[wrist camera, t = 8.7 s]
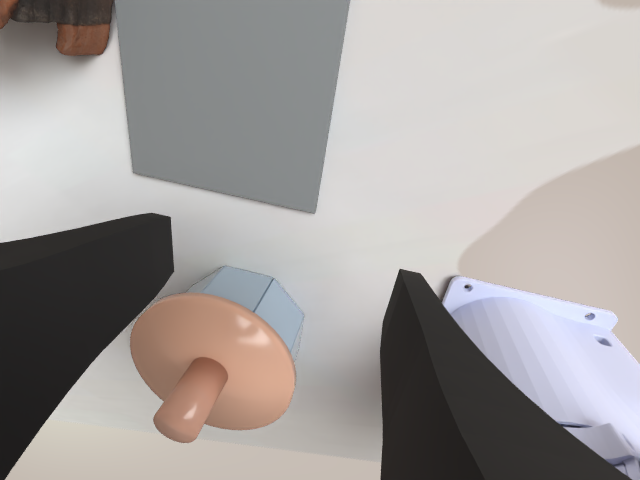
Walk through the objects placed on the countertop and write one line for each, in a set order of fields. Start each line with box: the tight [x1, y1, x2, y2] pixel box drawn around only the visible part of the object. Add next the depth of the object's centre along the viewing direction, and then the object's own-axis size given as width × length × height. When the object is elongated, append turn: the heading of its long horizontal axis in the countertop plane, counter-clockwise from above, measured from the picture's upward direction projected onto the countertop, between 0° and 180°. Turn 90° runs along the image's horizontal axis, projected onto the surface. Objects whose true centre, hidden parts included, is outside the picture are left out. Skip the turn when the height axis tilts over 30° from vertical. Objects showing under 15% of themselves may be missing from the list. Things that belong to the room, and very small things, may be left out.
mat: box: [115, 0, 350, 213], centre depth 18 cm, size 12×12×1 cm
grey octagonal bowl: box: [186, 266, 304, 362], centre depth 23 cm, size 9×9×5 cm
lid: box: [130, 292, 296, 443], centre depth 19 cm, size 10×10×4 cm
